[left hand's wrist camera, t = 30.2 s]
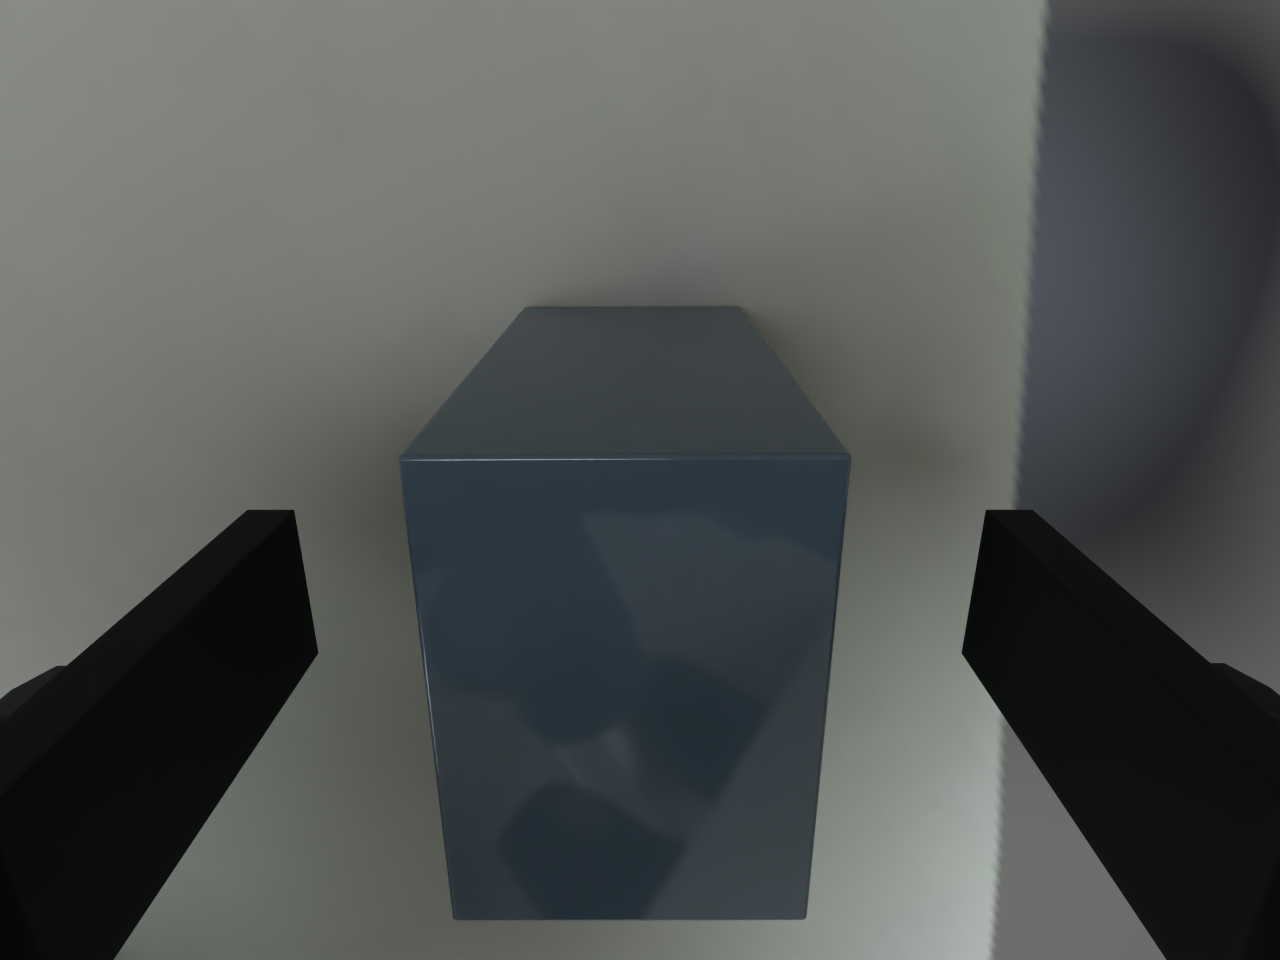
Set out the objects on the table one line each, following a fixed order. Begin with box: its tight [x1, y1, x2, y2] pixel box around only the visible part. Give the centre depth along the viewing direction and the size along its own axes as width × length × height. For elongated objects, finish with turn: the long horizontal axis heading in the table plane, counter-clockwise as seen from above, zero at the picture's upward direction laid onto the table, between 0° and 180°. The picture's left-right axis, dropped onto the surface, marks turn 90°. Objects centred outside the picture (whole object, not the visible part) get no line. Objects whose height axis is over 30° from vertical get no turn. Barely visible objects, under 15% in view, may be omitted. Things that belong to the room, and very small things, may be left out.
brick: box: [399, 307, 851, 921], centre depth 15 cm, size 5×7×10 cm
